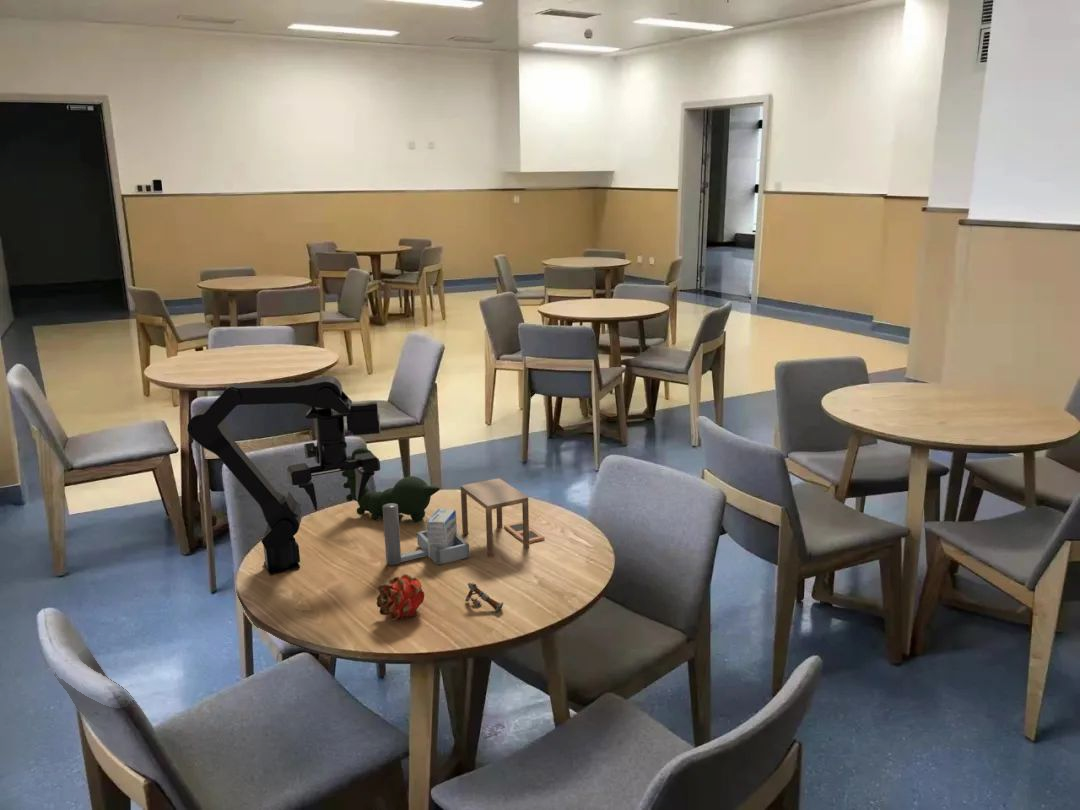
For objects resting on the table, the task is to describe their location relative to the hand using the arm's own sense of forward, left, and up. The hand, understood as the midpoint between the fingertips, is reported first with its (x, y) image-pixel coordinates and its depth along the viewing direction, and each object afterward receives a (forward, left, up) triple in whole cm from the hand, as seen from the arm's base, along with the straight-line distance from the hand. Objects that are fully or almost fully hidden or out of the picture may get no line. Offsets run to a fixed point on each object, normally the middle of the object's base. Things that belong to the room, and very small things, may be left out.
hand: (337, 505), depth 176 cm
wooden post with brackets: (+18, -35, -13) cm, 41 cm away
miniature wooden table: (+34, -7, -13) cm, 37 cm away
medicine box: (+21, -7, -13) cm, 26 cm away
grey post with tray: (+16, -7, -13) cm, 22 cm away
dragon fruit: (+4, -29, -13) cm, 32 cm away
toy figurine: (+18, +18, -13) cm, 29 cm away
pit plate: (+41, -7, -13) cm, 44 cm away
